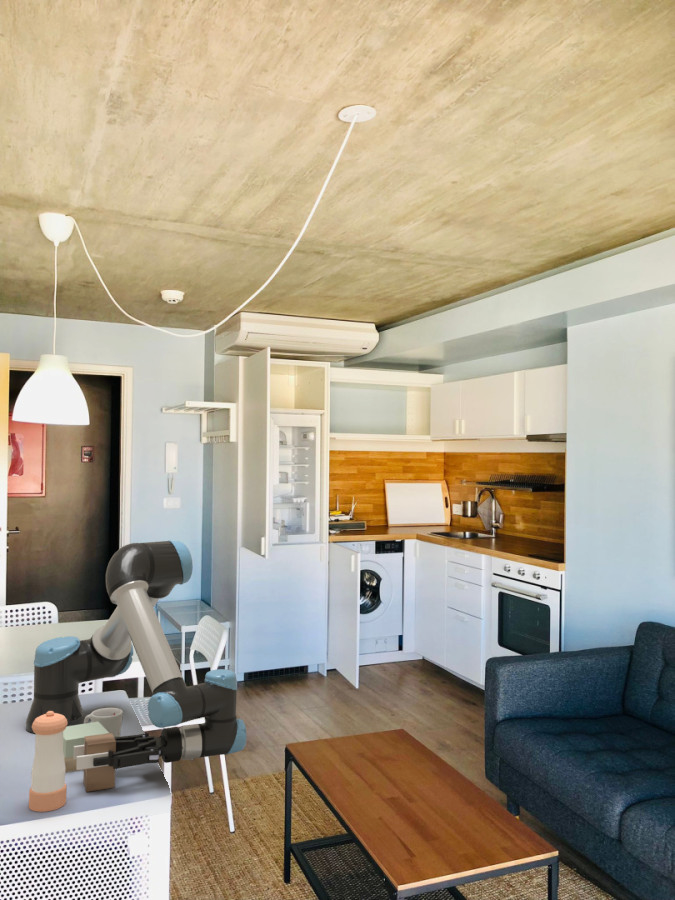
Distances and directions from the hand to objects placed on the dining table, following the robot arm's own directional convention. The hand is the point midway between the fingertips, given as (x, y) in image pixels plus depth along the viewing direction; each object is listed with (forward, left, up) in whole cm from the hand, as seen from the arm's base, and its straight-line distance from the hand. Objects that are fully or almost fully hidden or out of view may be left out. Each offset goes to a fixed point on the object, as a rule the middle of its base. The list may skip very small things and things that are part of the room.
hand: (75, 757), depth 163 cm
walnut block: (0, +5, -7) cm, 8 cm away
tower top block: (-16, +3, -3) cm, 17 cm away
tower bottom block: (-16, +3, -7) cm, 18 cm away
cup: (-28, +9, -7) cm, 30 cm away
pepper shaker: (+6, -6, -7) cm, 11 cm away
